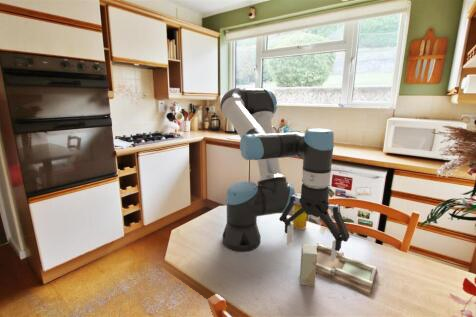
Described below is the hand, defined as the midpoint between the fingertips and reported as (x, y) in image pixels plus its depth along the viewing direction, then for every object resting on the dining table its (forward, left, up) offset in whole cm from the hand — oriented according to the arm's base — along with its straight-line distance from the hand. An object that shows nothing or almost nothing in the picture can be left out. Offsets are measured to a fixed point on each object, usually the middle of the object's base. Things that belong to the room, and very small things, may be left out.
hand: (310, 250), depth 75 cm
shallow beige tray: (+7, +12, -11) cm, 17 cm away
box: (0, 0, -11) cm, 11 cm away
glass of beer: (-15, +29, -11) cm, 35 cm away
